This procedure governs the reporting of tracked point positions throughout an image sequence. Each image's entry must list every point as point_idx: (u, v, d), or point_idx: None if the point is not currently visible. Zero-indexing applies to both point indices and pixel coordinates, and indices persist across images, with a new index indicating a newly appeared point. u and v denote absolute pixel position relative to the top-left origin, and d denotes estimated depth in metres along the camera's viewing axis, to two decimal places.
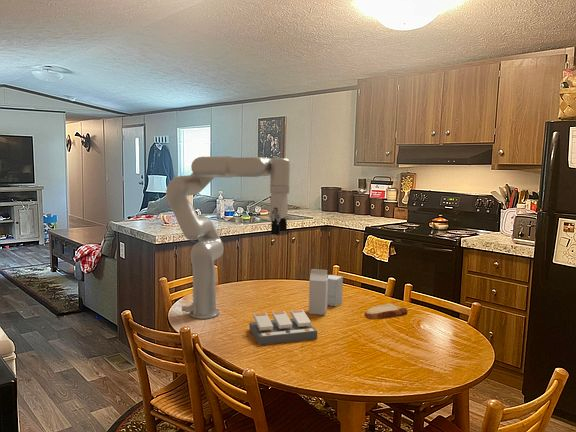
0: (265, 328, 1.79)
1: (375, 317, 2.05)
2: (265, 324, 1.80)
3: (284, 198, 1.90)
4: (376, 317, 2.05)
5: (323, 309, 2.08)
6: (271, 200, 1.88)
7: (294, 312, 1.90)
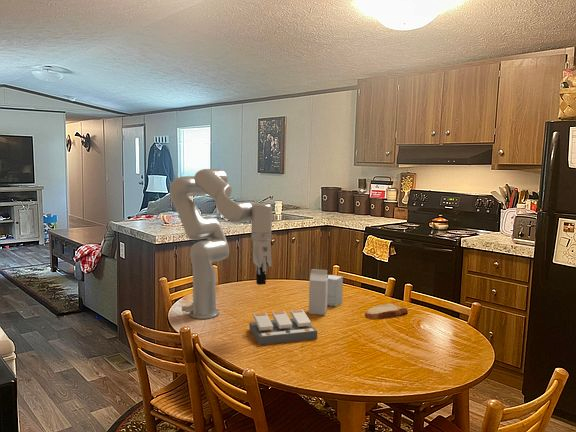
0: (265, 328, 1.79)
1: (375, 317, 2.05)
2: (265, 324, 1.80)
3: (254, 244, 1.84)
4: (376, 317, 2.05)
5: (323, 309, 2.08)
6: None
7: (294, 312, 1.90)
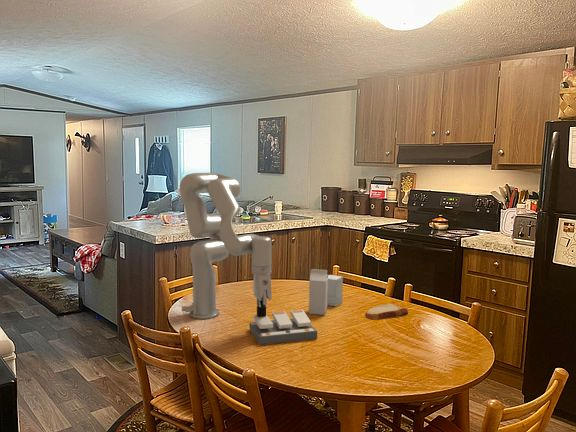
0: (265, 326, 1.79)
1: (376, 317, 2.04)
2: (265, 323, 1.80)
3: (254, 277, 1.85)
4: (377, 317, 2.04)
5: (323, 309, 2.08)
6: None
7: (294, 312, 1.90)
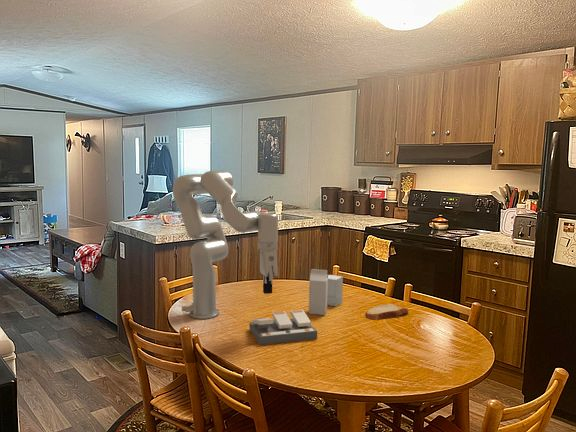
0: (265, 322, 1.79)
1: (376, 317, 2.04)
2: None
3: (260, 254, 1.85)
4: (377, 317, 2.04)
5: (323, 309, 2.08)
6: None
7: (294, 312, 1.90)
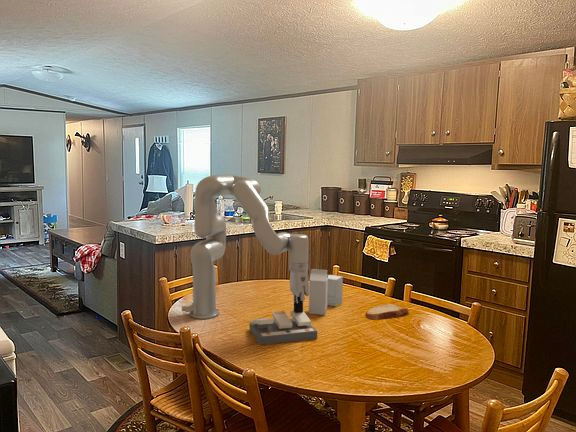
0: (265, 322, 1.79)
1: (376, 318, 2.04)
2: (264, 319, 1.80)
3: (291, 274, 1.90)
4: (377, 318, 2.04)
5: (323, 309, 2.08)
6: None
7: (294, 312, 1.90)
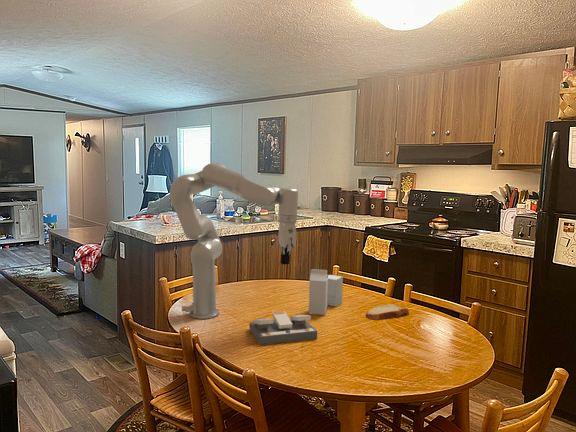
0: (265, 322, 1.79)
1: (376, 318, 2.04)
2: (264, 319, 1.80)
3: (280, 226, 1.96)
4: (377, 318, 2.04)
5: (323, 309, 2.08)
6: None
7: (294, 315, 1.90)
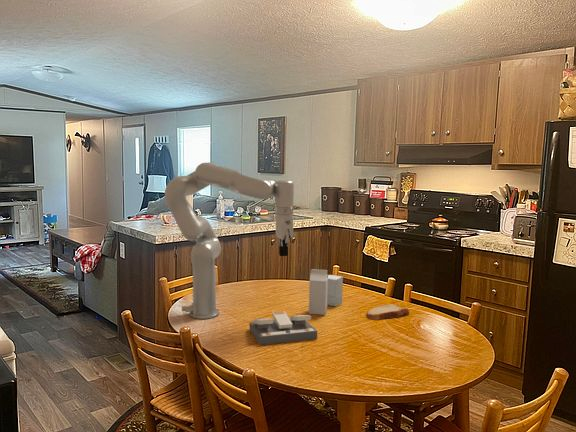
0: (265, 322, 1.79)
1: (377, 318, 2.04)
2: (264, 319, 1.80)
3: (277, 218, 1.98)
4: (378, 318, 2.04)
5: (323, 309, 2.08)
6: None
7: (294, 315, 1.90)
